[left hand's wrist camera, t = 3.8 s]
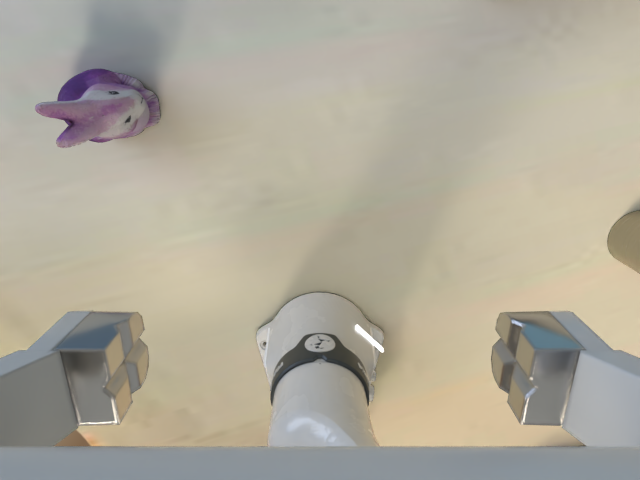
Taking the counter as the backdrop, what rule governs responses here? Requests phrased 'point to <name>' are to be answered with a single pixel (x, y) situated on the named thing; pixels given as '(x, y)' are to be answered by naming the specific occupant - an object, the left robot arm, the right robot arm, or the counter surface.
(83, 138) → the figurine
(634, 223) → the silver ridged cylinder
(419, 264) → the counter surface
